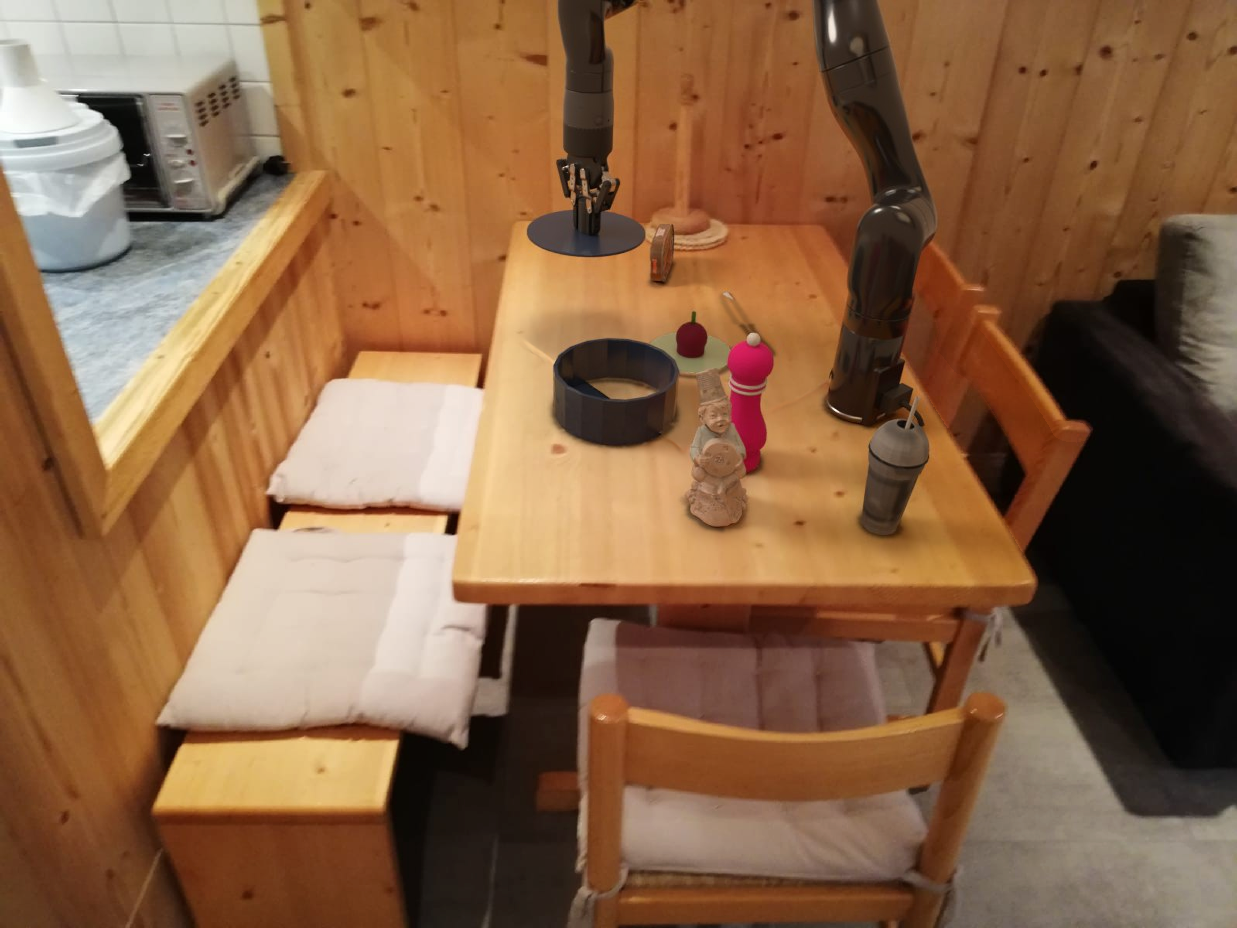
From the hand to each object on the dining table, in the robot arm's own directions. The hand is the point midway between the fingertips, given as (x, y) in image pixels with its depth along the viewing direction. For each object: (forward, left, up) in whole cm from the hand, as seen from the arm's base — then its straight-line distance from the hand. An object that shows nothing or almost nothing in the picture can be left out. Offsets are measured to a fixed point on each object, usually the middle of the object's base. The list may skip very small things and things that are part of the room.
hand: (586, 230), depth 145 cm
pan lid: (0, 0, -1) cm, 1 cm away
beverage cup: (-63, 0, -19) cm, 66 cm away
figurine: (-48, +15, -19) cm, 54 cm away
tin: (+12, -28, -19) cm, 36 cm away
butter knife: (-13, -26, -19) cm, 35 cm away
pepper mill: (-42, +5, -19) cm, 46 cm away
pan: (-22, +11, -19) cm, 31 cm away
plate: (-16, -10, -19) cm, 27 cm away
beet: (-16, -10, -18) cm, 26 cm away
